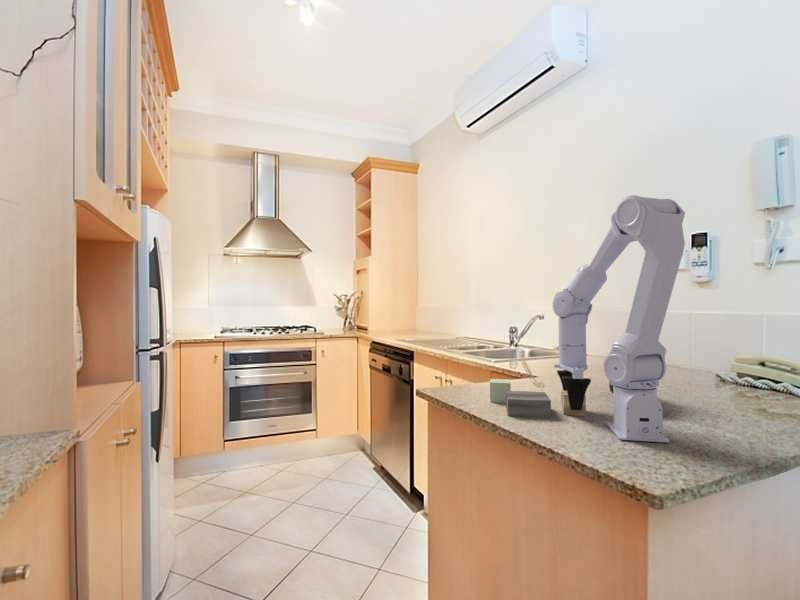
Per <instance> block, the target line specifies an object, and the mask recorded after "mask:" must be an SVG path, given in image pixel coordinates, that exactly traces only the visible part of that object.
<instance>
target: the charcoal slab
mask: <svg viewBox="0 0 800 600" xmlns="http://www.w3.org/2000/svg"><path fill="white" fill-rule="evenodd" d="M505 408H506V413H507V416H508V417H518V416H519V417H520V418H523V417H524V418H544V419H545V418H547V419H548V418H549V419H551V418H552V401H551V399H550V398H549V396H548V395H547V393H546V392H545V391H525V390H523V391H522V390H521V391H520V390H511V391H506V403H505Z"/></svg>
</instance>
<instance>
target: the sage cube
mask: <svg viewBox="0 0 800 600" xmlns="http://www.w3.org/2000/svg"><path fill="white" fill-rule="evenodd" d="M506 391H512V389H511V379H510V378H509V379H506V378H505V379H504V378H499V379H498V378H490V381H489V400H490V401H489V402H490V403H501V404H502V403H505V404H506Z"/></svg>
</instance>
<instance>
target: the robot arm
mask: <svg viewBox="0 0 800 600" xmlns="http://www.w3.org/2000/svg"><path fill="white" fill-rule="evenodd" d="M685 215H686V212H685V211H684V209H683V208H682V207H681V206H680V205H679V204H678V203H677V201H675V200H673V199H670V198H654V197H646V196H639V195H635V194H632V195H628V196H626V197H624V198H623V199H622V200H621V201H620V202H619V203H618V205H617V207H616V208H615V211H613V213H612V215H611V216H610V223H611V227H610V228H609V230H608V231H607V234H606V235H605V236H604V238H603V240H602V243H600V246H599V247H598V249H597V251H596V253H595V255H594V256H593V258H592V260H591V262H590V263H588V264H582V265H581V266H579V267H578V269H577V270H576V274H574V277H573V278H572V280H571V282H570V283H569V285H568V286H567V288H564V289H563V290H560V291H558V292H556V293H555V295H554V297H553V300H552V311H553V312H554V314H555V315H556V316H557V317H558V363H553V368H556V369H559V370H556V373H557V376H558V377H559V379H560V382H561V386H562V391H567V393H568V399H569V404H570V408H571V410H582V406H583V401H584V397H585V396H586V392H587V390H588V387H589V386H590V385H591V382H592V380H591V378H590V377H589V378H585V377H584V372H585V371H586V370H588V367H589V366H588V364H587V325H588V322H589V315H590V314H591V313H592V309H593V303H592V301H593V300H594V298H595V297H596V295H597V294H598V293H599V291H600V290H601V289H602V287H603V286H604V284H605V283H606V282H607V279H608V276H607V270H609V268H610V267H611V266H612V265H613V264H614V262H615V261H617V259H618V258H619V256H620V255H621V254H622V253H623V252H624V250H625V249H626V248H627V247H628V246H629V244H631V243H633V242H638V243H639V244H640V246H641V247H642V248H643V250H644V251H645V253H644V258H643V262H642V265H641V268H640V269H641V270H640V271H639V272H640V274H639V276H638V280H637V285H636V289H635V293H634V296H633V300H632V304H631V308H630V313H629V316H628V320H627V324H626V327H625V328H626V329H625V332H624V333H623V334H622V335H621V336H620V337H619V338H618V339H616V340H615V341H614V342H613V343H612V345H611V349H610V351H609V353H608V354H607V355H606V356H605V358H604V360H603V372H604V375H605V377H606V378H607V380H608V381H609V383H610V382H611V385H613V393H612V394H613V396H612V397H613V400H612V401H613V422H607V426H608V427H609V428H610V430H611V431H612V432H613V433H614V434H615V435H616V437H617V438H618V439H619V440H621V441H636V442H637V441H639V442H651V443H652V442H653V443H654V442H655V443H670V439H669V438H667V437H666V436H665V435H664V424H663V423H664V418H663V417H664V416H663V415H664V414H663V411H664V409H663V404H662V402H661V401H660V400H659V398H658V395H657V394H658V386H660V380H662V379H663V378H664V377H665V374H666V370H667V365H666V352H667V348H666V347H665V346H664V345H663V344H662V343H661V342H660V341H659V340H660V336H661V332H662V329H663V325H664V321H665V318H666V314H667V311H668V308H669V304H670V300H671V296H672V294H673V293H672V292H673V290H674V286H675V282H676V278H677V275H678V271H679V268H680V265H681V261H682V258H683V254H684V250H685V245H686V243H685V235H684V230H683V222H684V219H685ZM560 369H561V370H560Z"/></svg>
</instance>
